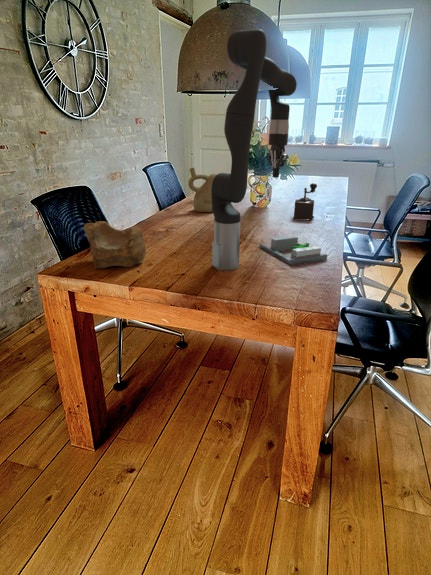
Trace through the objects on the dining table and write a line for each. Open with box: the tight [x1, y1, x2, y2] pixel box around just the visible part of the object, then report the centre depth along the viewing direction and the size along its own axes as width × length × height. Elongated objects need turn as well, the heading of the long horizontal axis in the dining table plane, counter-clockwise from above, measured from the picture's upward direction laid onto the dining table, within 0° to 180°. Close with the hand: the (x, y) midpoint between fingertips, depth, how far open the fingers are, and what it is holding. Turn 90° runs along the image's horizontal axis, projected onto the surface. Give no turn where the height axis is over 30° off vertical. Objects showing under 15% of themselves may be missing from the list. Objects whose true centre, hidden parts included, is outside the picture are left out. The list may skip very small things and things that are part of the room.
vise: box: [259, 242, 328, 267], centre depth 154 cm, size 16×25×5 cm, turn 23°
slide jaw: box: [270, 235, 299, 252], centre depth 158 cm, size 11×3×5 cm, turn 113°
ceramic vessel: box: [187, 167, 217, 213], centre depth 223 cm, size 17×20×25 cm
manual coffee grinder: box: [293, 183, 318, 221], centre depth 211 cm, size 16×11×18 cm
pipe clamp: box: [290, 242, 310, 258], centre depth 151 cm, size 11×4×5 cm, turn 145°
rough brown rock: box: [83, 220, 147, 270], centre depth 138 cm, size 23×17×15 cm
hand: (275, 177), depth 157 cm, fingers closed
